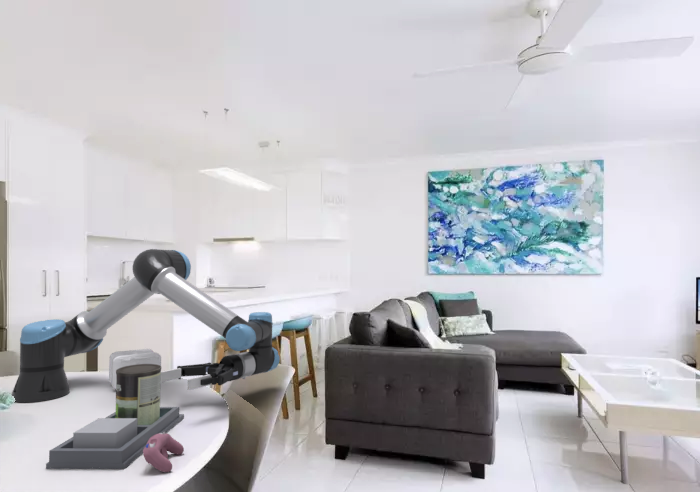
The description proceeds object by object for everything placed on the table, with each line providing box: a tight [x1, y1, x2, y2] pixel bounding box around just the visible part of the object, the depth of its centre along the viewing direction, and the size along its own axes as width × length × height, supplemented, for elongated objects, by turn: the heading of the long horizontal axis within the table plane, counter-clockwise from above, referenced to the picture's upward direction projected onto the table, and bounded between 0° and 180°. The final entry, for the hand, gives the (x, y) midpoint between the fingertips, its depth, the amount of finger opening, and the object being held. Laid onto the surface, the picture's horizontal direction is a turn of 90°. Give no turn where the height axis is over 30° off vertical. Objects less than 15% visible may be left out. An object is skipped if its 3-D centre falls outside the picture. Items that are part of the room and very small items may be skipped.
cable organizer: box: [108, 348, 162, 390], centre depth 153 cm, size 15×11×12 cm
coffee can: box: [115, 364, 162, 425], centre depth 111 cm, size 10×10×14 cm
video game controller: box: [142, 432, 185, 473], centre depth 92 cm, size 10×5×7 cm, turn 6°
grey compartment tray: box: [45, 406, 185, 470], centre depth 104 cm, size 16×30×6 cm, turn 179°
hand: (173, 380), depth 118 cm, fingers open, 13 cm apart
